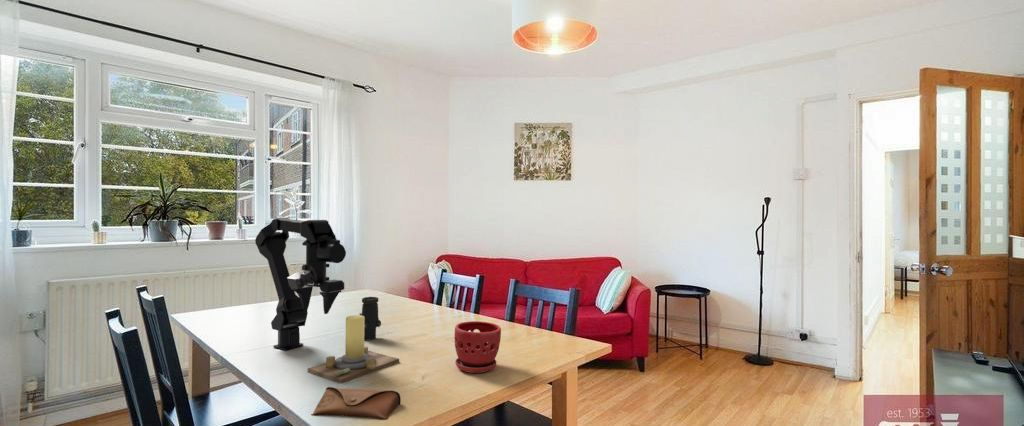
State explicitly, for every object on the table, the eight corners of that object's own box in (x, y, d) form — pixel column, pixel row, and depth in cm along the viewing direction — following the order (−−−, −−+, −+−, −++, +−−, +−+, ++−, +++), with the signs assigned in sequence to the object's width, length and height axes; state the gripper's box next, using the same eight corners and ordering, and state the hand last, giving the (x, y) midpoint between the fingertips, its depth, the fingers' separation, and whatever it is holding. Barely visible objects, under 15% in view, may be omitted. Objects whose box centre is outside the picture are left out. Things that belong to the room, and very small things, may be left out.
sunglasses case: (307, 415, 99) (315, 383, 103) (320, 419, 105) (327, 388, 109) (389, 419, 98) (394, 386, 101) (397, 423, 104) (402, 392, 107)
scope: (359, 295, 164) (386, 296, 163) (359, 334, 164) (385, 335, 163) (347, 299, 156) (375, 301, 155) (347, 340, 156) (375, 342, 155)
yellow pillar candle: (336, 360, 130) (336, 317, 129) (356, 354, 135) (357, 313, 135) (352, 365, 126) (352, 321, 126) (372, 358, 132) (373, 316, 131)
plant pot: (464, 379, 122) (464, 334, 122) (447, 364, 134) (448, 322, 134) (508, 371, 128) (508, 328, 128) (488, 358, 140) (489, 318, 140)
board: (307, 372, 126) (307, 359, 126) (367, 353, 143) (367, 342, 143) (341, 383, 118) (342, 370, 118) (400, 362, 135) (400, 350, 135)
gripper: (272, 261, 138) (271, 313, 138) (314, 265, 129) (313, 321, 129) (304, 258, 148) (304, 306, 148) (346, 261, 139) (345, 313, 139)
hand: (315, 311), depth 141 cm, fingers open, 9 cm apart
